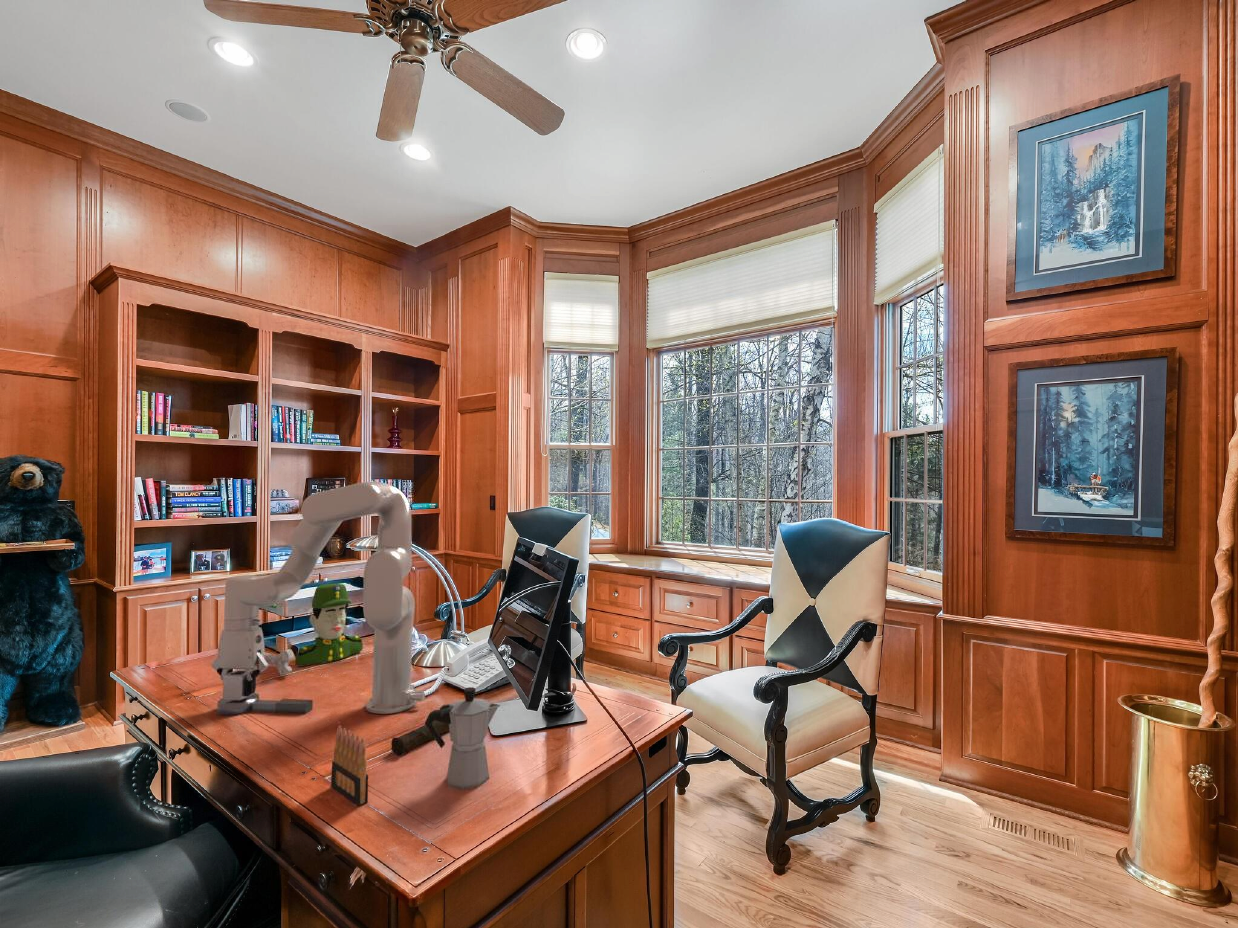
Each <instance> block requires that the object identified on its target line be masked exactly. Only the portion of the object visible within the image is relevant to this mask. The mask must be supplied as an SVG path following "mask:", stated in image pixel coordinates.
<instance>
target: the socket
mask: <svg viewBox="0 0 1238 928" xmlns="http://www.w3.org/2000/svg"><path fill="white" fill-rule="evenodd" d="M251 672H252V670H251ZM246 680H247V677H246V673H245V669H234V671H232V672H230V673H228V674H226V675H224V676H223V680H222V698H221V699H228V700H242V699H244V698H246V697H248V696H245V695H244V692H245V681H246ZM254 693H256V691H255V692H254ZM249 696H250V695H249Z"/></svg>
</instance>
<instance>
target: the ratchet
mask: <svg viewBox="0 0 1238 928" xmlns="http://www.w3.org/2000/svg"><path fill="white" fill-rule="evenodd" d="M313 701H314V700H313V699H303V698H301V699H299V698H297V699H296V698H294V699H293V698H281V699H280V700H271V699H267V700H266V699H260V694H258V693H256V692H255V693H253V694H251V695H250V696H248V697H246V698H244V699H242V700H228V699H222V698H221V699H219V700H217V702H216V703H217V704H216V705H217V706H216V713H217V715H219V716H222V717H231V716H239V715H238V714H240V715H244V714H247V713H250V712H257V711H261V713H262V711H264V712H263V713H276V714H302V715H303V714H304V715H306V714H308V713H309V712H311V711H312V710H313V706H314V705H313V704H314V703H313ZM243 713H244V714H243Z"/></svg>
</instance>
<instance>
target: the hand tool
mask: <svg viewBox="0 0 1238 928" xmlns="http://www.w3.org/2000/svg"><path fill="white" fill-rule="evenodd" d="M432 724H433V726H434V727H435V729H436V730H437V732H438V733H439V735H442V734H443V735H446V734H448V733H449V734H450V731H449V724H447V723H443V722H439V721H433V722H432ZM432 739H434V737H433V735H432V734H431V732H430V731H429V729H428V728H427V726H426V725H425V724H424V725H422V726H419V727H418V728H416V729H415V728H414V729H413V730H410V731H409V732H407V733H404V734H403V735H399V736H396V737H392V739H391V748H390V749H391V751H392V754H394V755H396V756H400V757H401V756H403V755H404V754H408V753H409V750H411V749H413V748H415V747H417V746H419V745H421V744H423V743H425V742H427V741H430V740H432Z"/></svg>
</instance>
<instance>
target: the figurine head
mask: <svg viewBox="0 0 1238 928" xmlns="http://www.w3.org/2000/svg"><path fill="white" fill-rule="evenodd" d="M350 604H352V601H351V600H349V594H348V590H347V588H346V585H345V584H343V583H327V584H326V583H325V584H320V585H318V586H317V587H316V588H315V591H314V594H313V599H312V602H311V608H312V614H311V615H310V616H309V623H310V624H311V626H312V627H313V630H314V631H315V633H316V634H318V637H314V639H315V640H314V641H315V643H313V644H308V645H305V646H302V647H300V648H299V649H298V651H297V654H296V656H295V663H294V666H297V667H302V666H309V665H313V664H315V665H317V664H326V663H330V662H334V661H339V660H343V659H345V658H348V657H349V656H352V655H354V654H358V653H360V652H362V651H363V648H364V646H363V645H364V643H363V640H362V638H361V636H359V635H350V636H346V635H345V633H344V629H345V625H346V619H347V613H348V607H349V605H350Z"/></svg>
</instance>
